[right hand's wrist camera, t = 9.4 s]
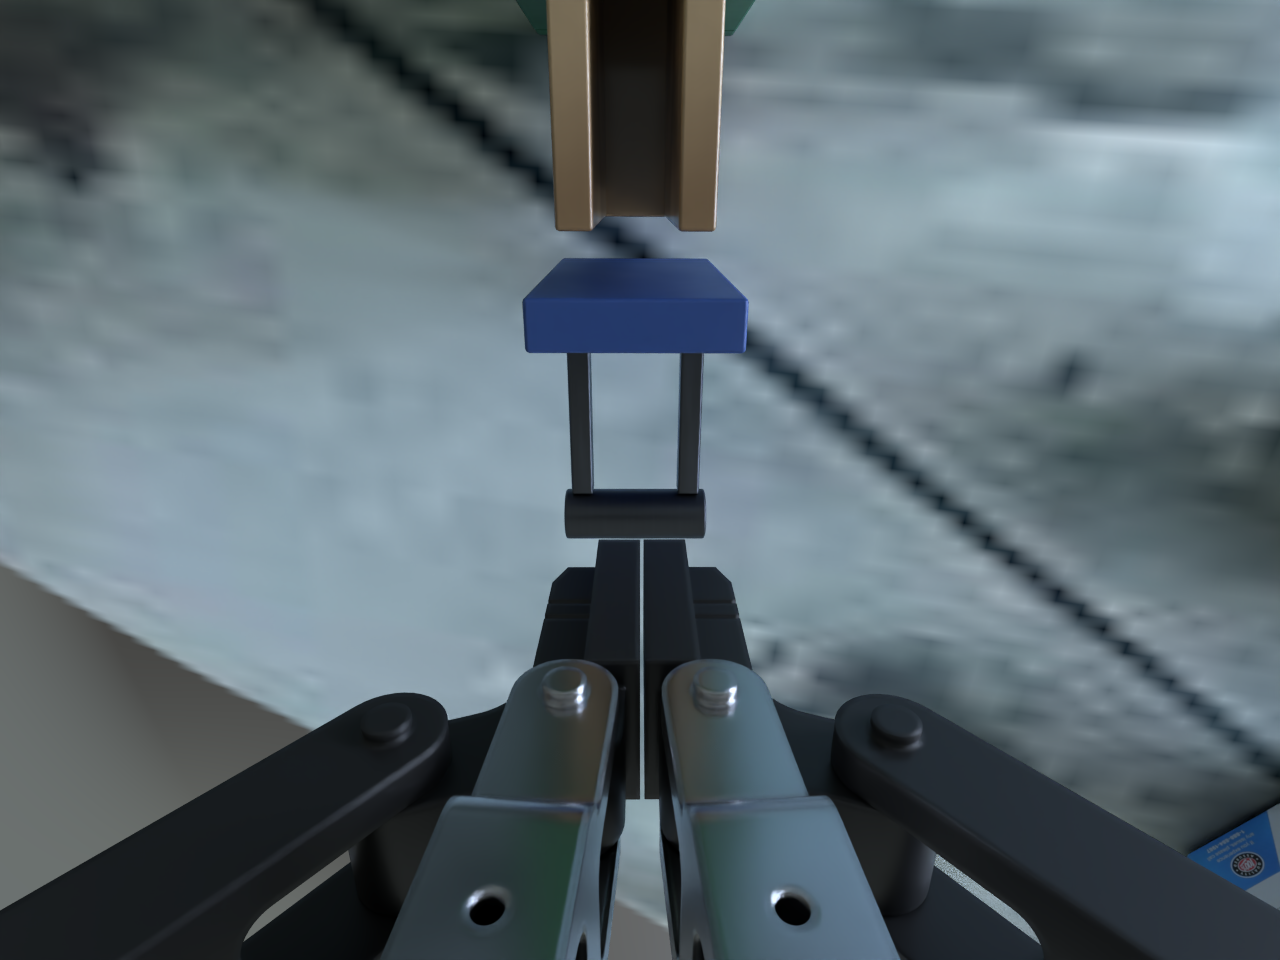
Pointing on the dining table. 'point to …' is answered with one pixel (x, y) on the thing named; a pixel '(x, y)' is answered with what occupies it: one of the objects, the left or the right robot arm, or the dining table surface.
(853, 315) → the dining table surface
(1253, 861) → the ink box
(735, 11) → the cabinet
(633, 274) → the drawer
